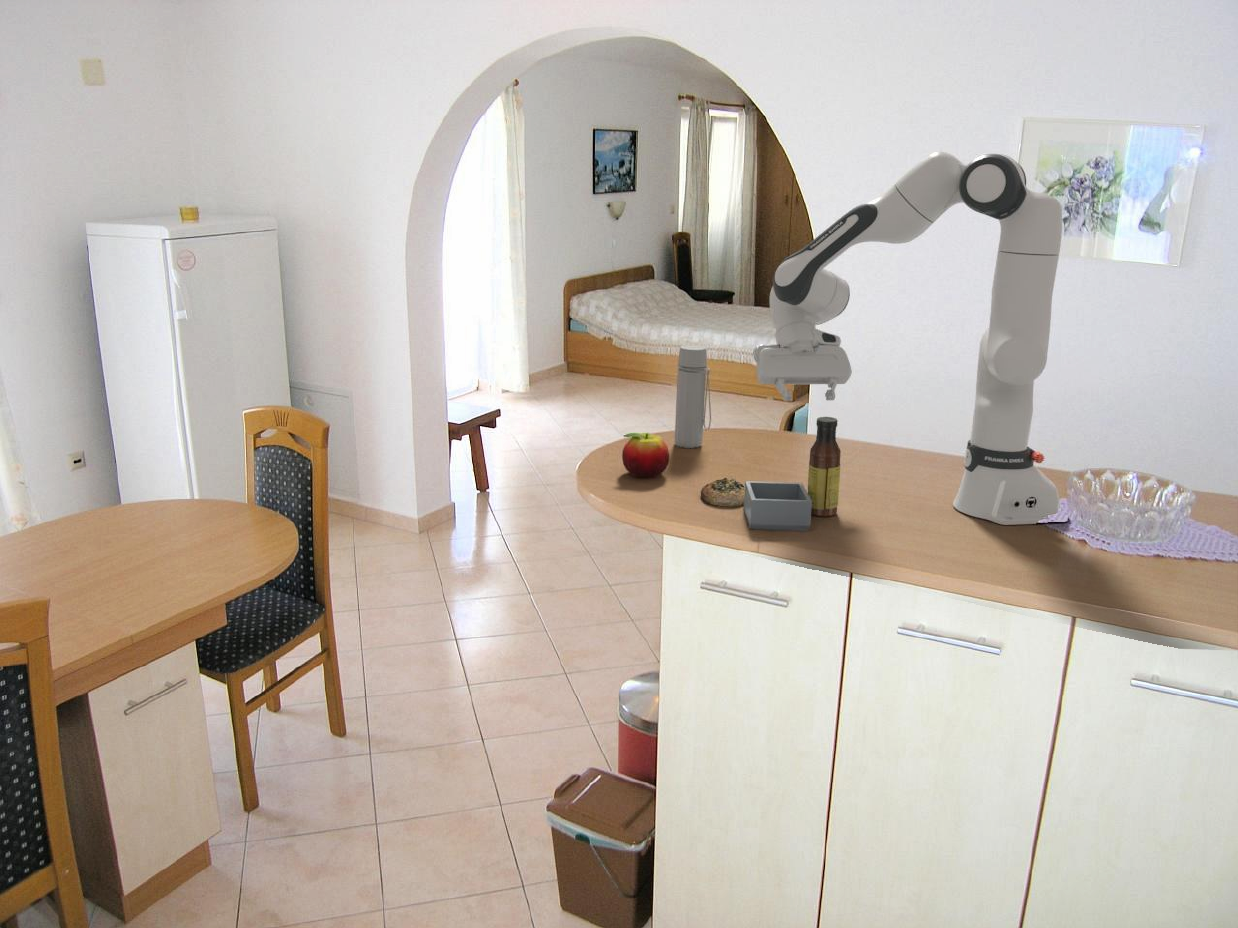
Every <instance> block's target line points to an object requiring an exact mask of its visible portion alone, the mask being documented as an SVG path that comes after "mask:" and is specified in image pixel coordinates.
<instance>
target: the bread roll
mask: <svg viewBox="0 0 1238 928" xmlns="http://www.w3.org/2000/svg"><path fill="white" fill-rule="evenodd" d="M744 493H745V485H743V483H741V482H739V481H737V480H736V478H732V479H730V480H729V479H728V478H727V477H723V478H722V479H720V478H718V479H716V480H714V481H711V482H710V483H707V484H706V485H703V487H702V489H700V497H701V500H704V502H705V503H707V504H709V505H712V506H715V505H719V506H718V507H720V506H724V507H726V506H727V508H728V507H739V506H742V505H743V506H744Z"/></svg>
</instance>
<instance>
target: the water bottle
mask: <svg viewBox="0 0 1238 928" xmlns="http://www.w3.org/2000/svg"><path fill="white" fill-rule="evenodd" d="M707 356H708V355H707V347H706V346H703V345H696V344H695V345H693V344H691V345H681V346H680V348H679V353H678V361H677V367H678V369H677V376H676V377H677V378H676V382H677V383H676V397H675V398H676V401H675V402H676V403H675V421H674V422H675V423H674V424H675V425H674V444H675V446H677V447H679V446H680V447H679V448H682V447H686V448H685V449H690V448H691V449H695V448H694V447H697V448H699V447H698V446H700V447H701V446H702V445H703V435H704V434H703V433H704V429H705V430H709V429H710V427H711V425H712V424H711V423H712V411H711V410H712V409H711V407H712V406H711V393H710V391H711V390H710V373H711V368H710V367H708V361H707V360H708V359H707ZM707 396H708V397H707ZM707 398H708V408H709V409H708V410H709V411H708V413H709V422H708V423H709V425H708V427H706V424H705V423H706V413H707V410H706V409H707Z"/></svg>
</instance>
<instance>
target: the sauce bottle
mask: <svg viewBox="0 0 1238 928" xmlns="http://www.w3.org/2000/svg"><path fill="white" fill-rule="evenodd" d="M837 427H838V419H837V418H835V417H832V416H831V417H830V416H820V417H818V418H816V436H815V437H816V440H815V441H814V443H813V445H812V446H811V448H810V450H809V451H810V452H809V462H808V473H807V474H808V477H807V478H808V479H807V493H808V495H809V497H810V499H811V501H812V508H811V515H813V516H817V517H832V516H835V515H837V513H838V506H839V498H840V497H839V494H840V481H841V480H840V479H841V453H842V452H841V451H842V450H841V449H840V446H839V445H838V442H837V437H836V434H837Z"/></svg>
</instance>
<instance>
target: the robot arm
mask: <svg viewBox="0 0 1238 928" xmlns="http://www.w3.org/2000/svg"><path fill="white" fill-rule="evenodd" d="M962 203H963V204H964V205H966V206H967V207H968V208H970V209H971V210H973V212H976V213H979V214H981V215H985V216H987V217H990V218H992V219H995V220H998V221H999V225H1000V233H999V234H1000V235H999V243H998V247H997V248H998V249H997V254H996V260H995V268H994V273H993V274H994V275H993V281H992V289H991V299H990V301H991V302H990V304H991V305H990V318H989V327H988V328H987V329H986V330H985V332H984V333H983V334H982V336H981V339H980V342H979V351H978V359H977V360H978V362H977V370H976V385H975V401H974V402H975V403H974V408H973V416H972V423H971V424H972V425H971V431H970V438H969V440H968V441H967V445H966V449H965V453H964V466H963V467H964V473H963V475H962V480H961V482H960V485H959V489H958V491H957V494H956V496H955V497H954V500H953V502H952V507H954V509H956V510H957V511H958V512H961V513H963V514H966V515H968V516H971V517H975V518H978V519H983V520H987V521H990V522H993V523H996V524H999V525H1003V526H1009V525H1010V526H1011V525H1012V526H1013V525H1014V526H1015V525H1033V524H1034V525H1035V524H1036V523H1037V522H1038V521H1039V520H1043V519H1049V518H1048V515H1052V514H1056V513H1058V512H1059V505H1060V497H1059V496H1060V495H1059V491H1058V488H1057V486H1056V485H1055V484H1054V482H1053V481H1052V480H1050V479H1049V478H1048V477H1047V475H1045V474H1044V473H1043V472H1042V471H1041V470H1040V469H1039V468H1038V467H1036V466H1035V464H1034V463H1036V464H1042V463H1043V462H1044V461H1045V456H1044V454H1042V453H1041V452H1040V451H1035V450H1034V449H1033V448H1030V447H1029V446H1028V445H1029V439H1030V432H1031V427H1032V426H1031V425H1032V420H1033V413H1034V387H1035V386H1034V384H1035V380H1036V379H1038V378H1039V377H1040V376H1041V374H1042V373H1043V371H1044V370H1045V368H1046V365H1047V360H1048V351H1049V342H1050V333H1051V321H1052V303H1053V302H1052V301H1053V293H1054V286H1055V281H1056V276H1057V268H1058V264H1059V257H1060V251H1061V245H1062V244H1061V242H1062V234H1063V233H1062V231H1063V213H1062V212H1063V209H1062V206H1061V203H1060V202H1059V200H1058V199H1057V198H1056V197H1054V196H1052V195H1050V194H1048V193H1043V192H1036V191H1035V192H1034V191H1031V190H1029V189H1028V187H1027V177H1026V173H1025V171H1024V168H1023V167H1022V166H1021V164H1020V163H1018V162H1017V161H1016V160H1015V159H1014V158H1013V157H1011V156H1009V155H1006V154H1002V153H987V154H983V155H979V156H978V157H976V158H974V159H973V160H970V162H969V163H967V164H965V163H963V161H960V159H958V158H957V157H955V156H954V155H952V154H951V153H948V152H944V151H936V152H933V153H930V154H929V155H928V156H927V157H925V158H924V159H922V160H921V161H919V162H918V163H917V164H915V165H913V167H911V169H909V170H908V171H907V172H906V173H905V174H904V175H902V177H900V179H898V180H897V181H896V182H895V183H894V184H893V185H892V186H891V187H890V188H889V189H888V190H886V191H885V192H884V193H882V194H881V195H880V196H878V197H877V198H875V199H873V200H871V201H869V202H865V203H861V204H859V205H856V206H855V207H853V208H852V209H850V210H849V211H848V212H846V213H845V214H844V215H842V216H841V217H839V219H837V220H836V221H835V222H834V223H832V224H831V225H830V226H829V227H828V228H826V229H825V230H823V232H821V233H820V234H819V235H818V236H817V237H815V238H813V240H812V241H811V242H809V243H808V244H806V245H805V246H804V247H803V248H801V249H799V250H798V251H796V252H794V253H793V254H791V255H788V256H787V257H786V258H784V259H783V260H782V261H781V262H780V263H779V264H778V266H776V269H775V270H774V272H773V278H772V287H771V290H770V293H769V309H770V316H771V322H772V325H773V326H774V328H775V334H774V335H775V337H774V338H775V342H776V344H759V345H758V346H756V347H755V348H754V349H753V351H752V354H753V358H754V360H755V361H754V362H756V379H757V382H758V383H759V384H760V385H763V386H766V385H767V386H770V385H771V386H772V385H774V387H775V389H776V390H777V391H778V392H779V394H780V395H782V400H783V402H791V401H792V399H793V394H792V390H791V389H787V387H786V386H785V385H827V388H828V389H827V390H826V391H825V394H824V396H825V400H826V401H835V399H836V392H835V390H836V387H837V385H845V384H847V382H848V381H849V379H850V378H851V376H852V374H853V373H852V372H853V371H852V366H851V363H850V360H849V357H848V354H847V352H846V351H845V349H844V348H843V347H842V346H841V342H842V340H841V337H840V336H838V335H837V334H833V333H828V332H825V331H824V330H823V331H822V330H820V329H817V328H816V326H818V325H822V324H825V323H828V322H829V321H830V320H834V319H835V318H836V317H838V316H840V315H841V314H842V313H843V312H844V311H845V310H846V308H847V306H848V304H849V301H850V294H851V293H850V290H851V289H850V286H849V283H848V282H847V281H846V280H845V279H843V278H841V277H840V276H838V275H836V274H835V273H833V272H832V271H829V270H827V269H826V267H827V266H829V264H831V263H833V262H834V261H835V260H836V259H838V257H840V256H841V255H842V254H843V253H845V252H846V251H847V250H848V249H850V248H851V247H853V246H855V245H857V244H861V243H867V242H868V243H869V242H873V243H876V242H878V243H886V244H887V243H888V244H897V245H899V244H906V243H910V242H911V241H913V240H915V239H917V238H918V237H919V236H921V235H922V234H923V233H925V232H926V231H927V230H928V229H929V228H930V227H931V226H932V225H933V224H934V223H936V221H937V220H938V219H939V218H940V217H941V216H943V214H945V212H946V211H948V210H949V209H950V208H952V207H953V206H954V205H955V206H956V205H957V204H962ZM1044 517H1046V518H1044ZM1036 525H1037V524H1036Z"/></svg>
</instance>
